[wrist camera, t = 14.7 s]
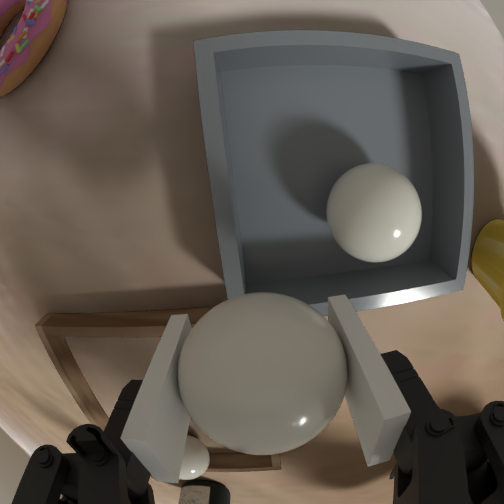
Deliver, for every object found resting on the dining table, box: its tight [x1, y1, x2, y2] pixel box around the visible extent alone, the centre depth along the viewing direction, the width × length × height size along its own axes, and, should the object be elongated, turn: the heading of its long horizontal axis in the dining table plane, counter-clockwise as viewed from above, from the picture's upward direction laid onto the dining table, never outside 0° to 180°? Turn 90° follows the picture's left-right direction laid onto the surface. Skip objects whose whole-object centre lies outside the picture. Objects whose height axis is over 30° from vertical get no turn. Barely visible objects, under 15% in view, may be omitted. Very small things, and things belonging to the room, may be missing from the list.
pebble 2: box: [178, 292, 348, 455], centre depth 10 cm, size 6×6×6 cm
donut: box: [0, 0, 68, 97], centre depth 12 cm, size 14×14×5 cm
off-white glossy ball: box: [326, 163, 422, 262], centre depth 16 cm, size 6×6×6 cm
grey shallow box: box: [194, 30, 474, 316], centre depth 17 cm, size 17×17×5 cm
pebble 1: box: [179, 435, 210, 480], centre depth 26 cm, size 6×6×6 cm
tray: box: [35, 306, 281, 472], centre depth 26 cm, size 24×22×2 cm
